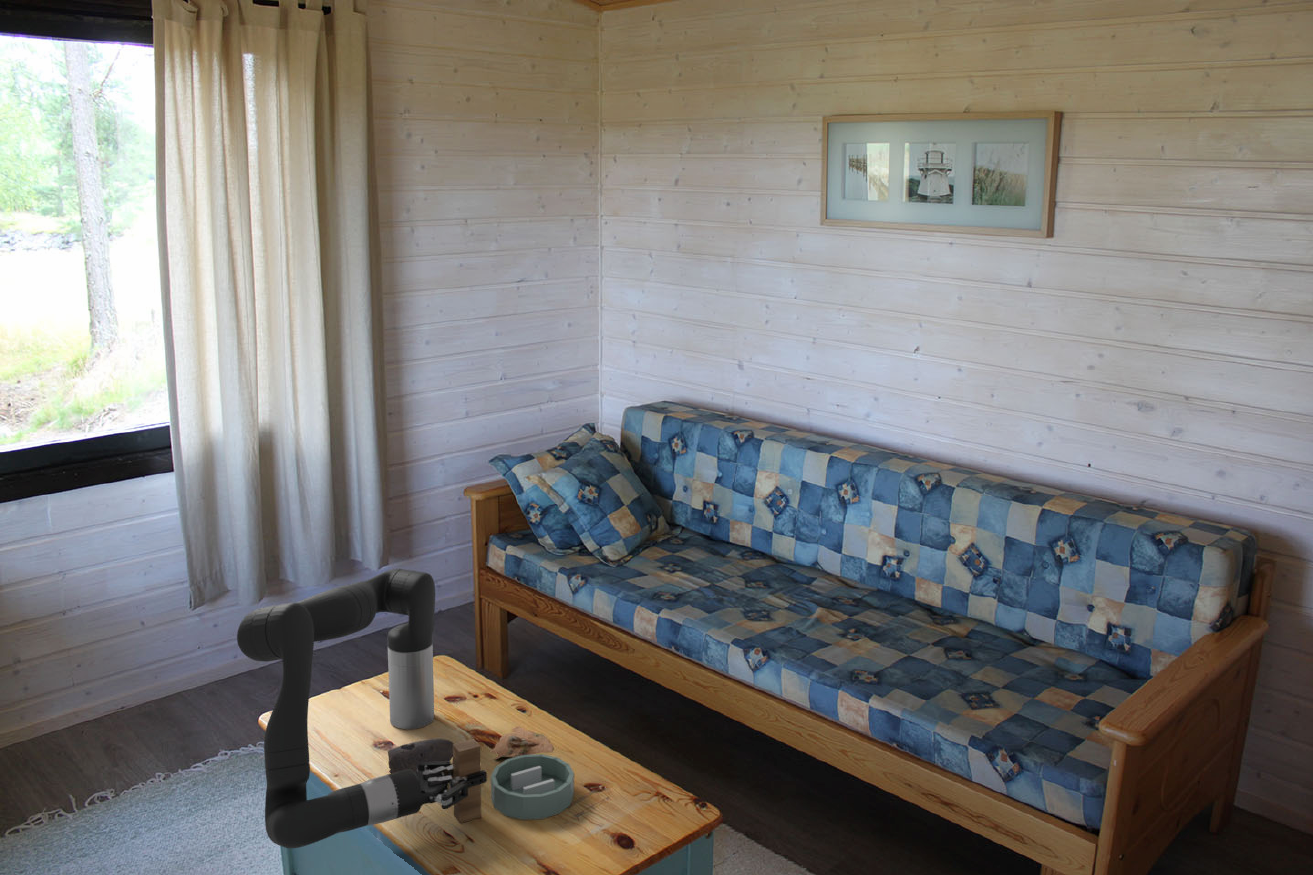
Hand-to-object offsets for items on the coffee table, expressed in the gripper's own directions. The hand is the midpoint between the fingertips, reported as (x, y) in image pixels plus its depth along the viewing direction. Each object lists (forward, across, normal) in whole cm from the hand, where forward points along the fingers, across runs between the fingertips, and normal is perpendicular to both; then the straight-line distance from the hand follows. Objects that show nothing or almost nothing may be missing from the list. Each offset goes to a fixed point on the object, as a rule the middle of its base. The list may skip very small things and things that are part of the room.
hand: (481, 771), depth 195 cm
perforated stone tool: (-5, +18, +8) cm, 20 cm away
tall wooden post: (-3, 0, +8) cm, 9 cm away
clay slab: (+15, +19, +9) cm, 26 cm away
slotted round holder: (+10, 0, +8) cm, 13 cm away
